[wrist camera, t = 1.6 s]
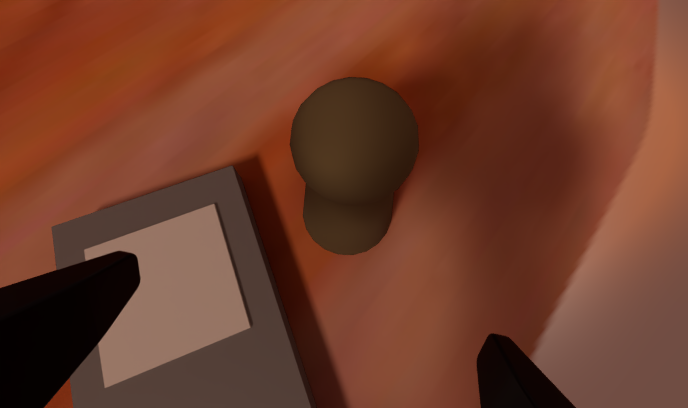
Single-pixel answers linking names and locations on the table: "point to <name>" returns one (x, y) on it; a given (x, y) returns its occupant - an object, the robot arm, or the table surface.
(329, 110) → the cork
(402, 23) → the table surface
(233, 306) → the dock step
